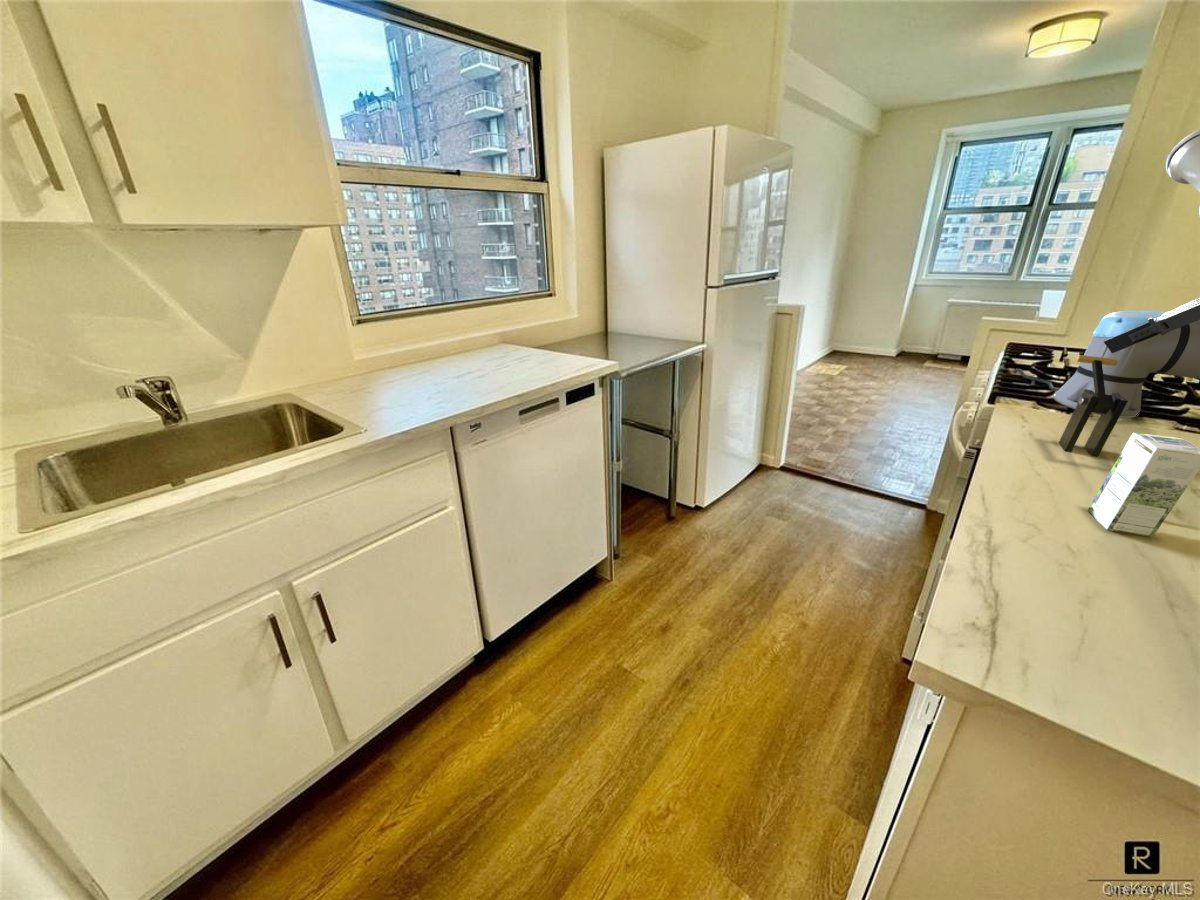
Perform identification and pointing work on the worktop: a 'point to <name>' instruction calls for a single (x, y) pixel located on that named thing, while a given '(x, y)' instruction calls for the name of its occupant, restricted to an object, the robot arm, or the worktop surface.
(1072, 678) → the worktop surface
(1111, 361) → the tap lever
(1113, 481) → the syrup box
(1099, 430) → the bracket
